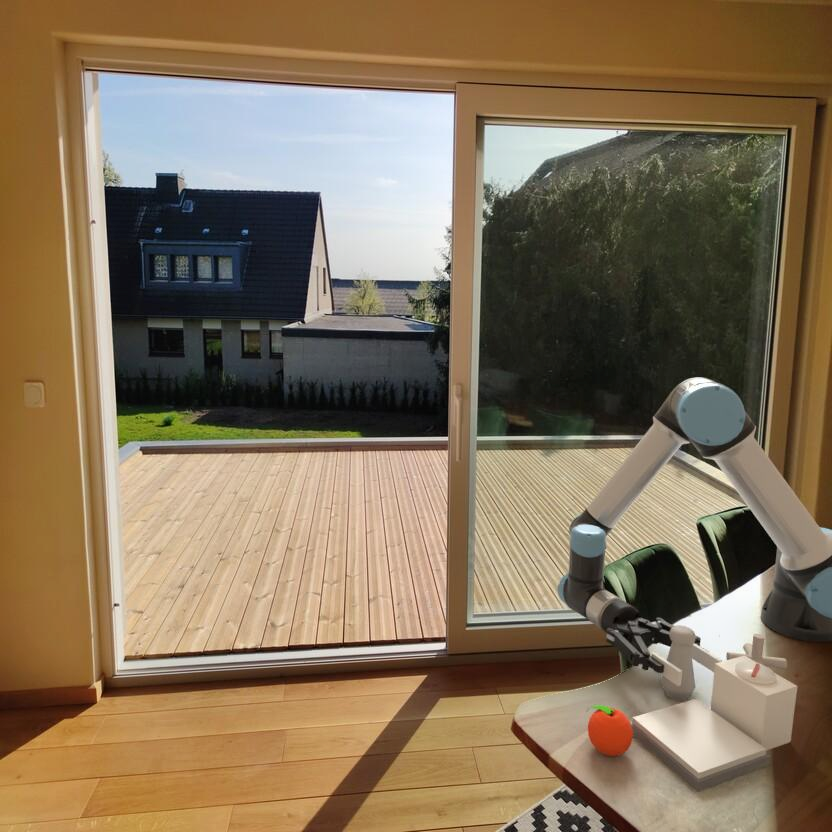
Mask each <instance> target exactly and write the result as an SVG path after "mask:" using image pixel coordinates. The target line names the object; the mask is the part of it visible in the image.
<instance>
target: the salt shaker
mask: <svg viewBox="0 0 832 832" xmlns="http://www.w3.org/2000/svg"><path fill="white" fill-rule="evenodd" d="M695 635H696V634H695V631H694V630H693V629H692V628H690V627H688V626H686V625H674V627H672V628H671V629H670V639H671V641H672V644H671V647H669V651H668V655H667V657H666V660H667V661H668V662H670V663H671V664H673V665H674V666H676V667H677V668H679V669H680V670H682V680H681V685H680V686H677V685H675V684H674V683H673V682H671V681H670V680H668V679H667V678H666V677H664V676H663V675H661V676H660V683H661V685H662V687H663V690H664V693H665V695H666V696H667V697H668V698H669V699H671V700H674V701H677V702H680V703H681V702H686V701H689V699H690V698H691V696H692V695H693V693H694V691H695V690H696V681H695V672H694V665H693V659H692V654H691V645H693V644H694V642H695Z"/></svg>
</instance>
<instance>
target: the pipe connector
mask: <svg viewBox="0 0 832 832" xmlns="http://www.w3.org/2000/svg"><path fill="white" fill-rule="evenodd" d="M764 643H765V636H764V635H763V634H761V633H753V636H752V643H750V642H746V643H744V644H743V647H742V648H743V651H744V652H745V653H737V652H730V651H727V652H726V657H725V658H726V660H730V659H733V658H737V657H741V656H746V657H748V658H750V659H751V660H753V661H755V662H757V663H759V664H762V665H764V666H766V667H768V668H775V669H783V670H787V668H788V661H787V659H786V658H784V657H783V658H782V657H776V656H774V657H773V656H766V655H763V654H764Z"/></svg>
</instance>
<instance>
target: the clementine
mask: <svg viewBox="0 0 832 832" xmlns="http://www.w3.org/2000/svg"><path fill="white" fill-rule="evenodd" d="M591 708H593V709H594V708H596V709H597V710H595V711H594V712H593V713H592V715H591V716H590V717H589V720H588V721H587V722H588V724H587V733H588V734H587V735H588V738H589V741H590V742H591V744H592V745H593V746H594V748H595V749H596V750H597V751H599V752H600V753H601V754H604V755H606V756H614V757H615V756H616V757H617V756H621V755H622V754H624V753H626V752H627V751H628V750H629V748H630V747H631V745H632V742H633V739H634V738H633V737H634V735H633V730H632V726H631V724H630V721H631V720H629V718H628V716H626V715H625V714H624V713H623V712H621V711H620V710H619V709H617V708H614V707H608V706H605V705H602V704H597V705H595V704H594V705H591V706H590V707H589V708H587V709H586V712H588V711H589V710H590V709H591Z"/></svg>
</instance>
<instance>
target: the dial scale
mask: <svg viewBox="0 0 832 832" xmlns="http://www.w3.org/2000/svg"><path fill="white" fill-rule="evenodd" d="M712 681H713V682H712V690H711V701H710V708H709V707H708V706H706V705H705V704H704V703H703V702H701V701H700V700H698V699H697V698H693V699H691V700H686V701H682V702H680V703H676V704H672V705H670V706H666V707H663V708H660V709H657V710H656V709H655V710H652V711H650V712H647V713H643V714H640V715H636V716H632V720H629V721H630V724H631V726H632V730H633V737H634V738H636V739H637V740H638V741H639V742H641V744H642V745H644V746H645V747H646V748H647V749H648V750H650V752H652V753H653V754H654V755H655V756H656V757H658V758H659V760H661V761H662V762H664V763H665V764H666V765H667V766H668V767H669V768H670V769H671V770H673V771H674V772H675V773H676V774H677V775H678V776H679V777H681V778H682V779H683V780H684V781H685V782H686V783H688V784H689V785H690V786H691V787H692V788H693V789H695V790H696V791H697V792H700V791H704V790H706V789H707V788H711V787H713V786H716V785H719V784H721V783H724V782H728V781H729V780H731V779H734V778H737V777H740V776H744V775H745V774H748V773H750V772H753V771H756V770H759V769H762V768H764V767H765V768H766V767H767V766H770V763H771V757H772V756H771V755H770V754H769V753H767V751H769V750H772V749H775V748H778V747H780V746H784V745H786V744H789V743H791V740H792V733H793V725H794V716H795V709H796V699H797V691H798V685H796V684H795V683H793V682H791V681H789V680H787V679H785V678H784V677H783V676H781V675H779V674H777V673H775V671H773V670H772V669H771V667H766V666H764V665H762V664H759V663H757V662H755V661H753V660H751V659H750V658H748V657H746V656H741V657H737V658H733V659H730V660H727V659H726V660H722V662H719V663H715V669H714V672H713V680H712Z"/></svg>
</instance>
